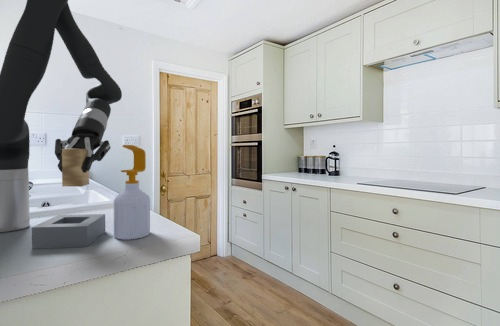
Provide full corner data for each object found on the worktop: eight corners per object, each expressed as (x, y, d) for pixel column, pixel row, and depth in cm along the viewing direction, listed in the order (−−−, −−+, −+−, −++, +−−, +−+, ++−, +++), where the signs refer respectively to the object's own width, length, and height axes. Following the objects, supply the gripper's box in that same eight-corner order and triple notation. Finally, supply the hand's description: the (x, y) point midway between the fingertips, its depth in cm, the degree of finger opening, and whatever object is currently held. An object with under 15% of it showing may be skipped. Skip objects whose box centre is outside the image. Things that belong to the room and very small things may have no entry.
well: (32, 248, 65) (31, 227, 65) (59, 232, 77) (58, 214, 76) (87, 246, 67) (87, 226, 66) (105, 231, 79) (105, 214, 78)
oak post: (62, 186, 71) (61, 148, 70) (70, 184, 75) (70, 148, 75) (81, 186, 71) (81, 149, 71) (89, 184, 76) (89, 149, 75)
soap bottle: (106, 237, 74) (105, 144, 72) (133, 228, 82) (133, 145, 81) (131, 242, 70) (130, 145, 69) (157, 232, 78) (156, 145, 77)
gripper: (60, 115, 78) (35, 160, 67) (114, 117, 81) (99, 161, 70) (69, 135, 84) (47, 179, 73) (119, 136, 86) (106, 179, 75)
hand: (72, 170), depth 71 cm, fingers closed on oak post, 4 cm apart
